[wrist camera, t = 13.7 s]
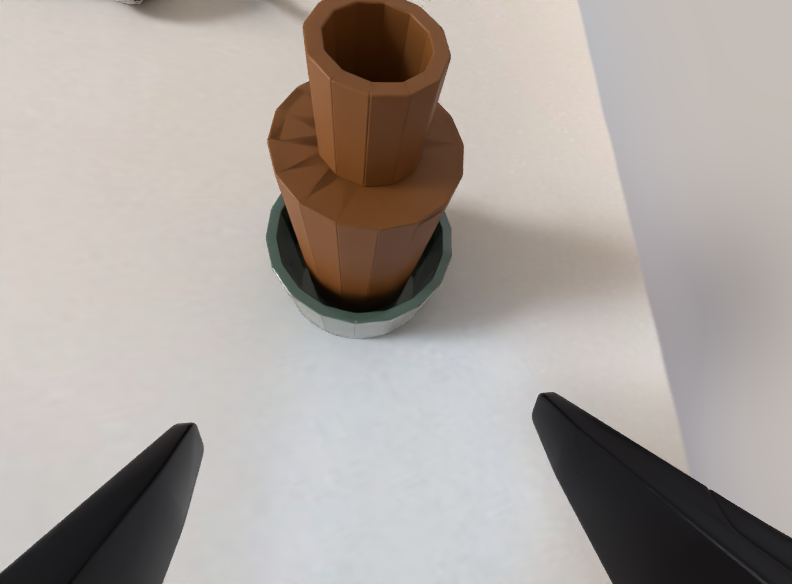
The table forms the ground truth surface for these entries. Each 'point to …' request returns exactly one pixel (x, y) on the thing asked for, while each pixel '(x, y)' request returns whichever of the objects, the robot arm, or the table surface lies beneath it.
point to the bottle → (367, 148)
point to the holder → (343, 322)
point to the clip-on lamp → (130, 1)
